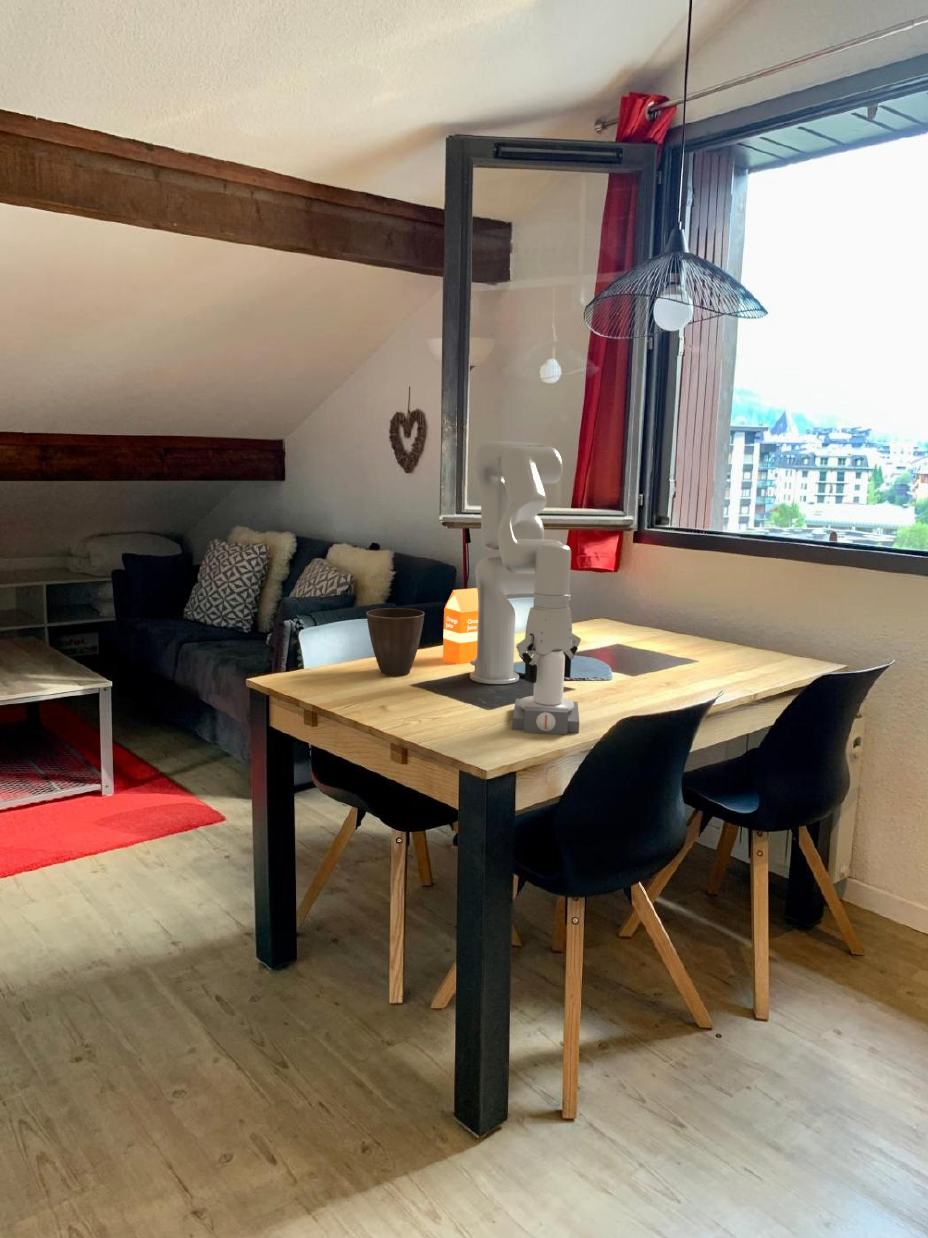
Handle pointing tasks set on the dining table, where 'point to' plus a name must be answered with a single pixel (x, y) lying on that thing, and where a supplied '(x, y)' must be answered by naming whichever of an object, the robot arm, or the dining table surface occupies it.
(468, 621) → the orange juice
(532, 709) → the scale
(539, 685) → the can
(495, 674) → the robot arm
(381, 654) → the plant pot
